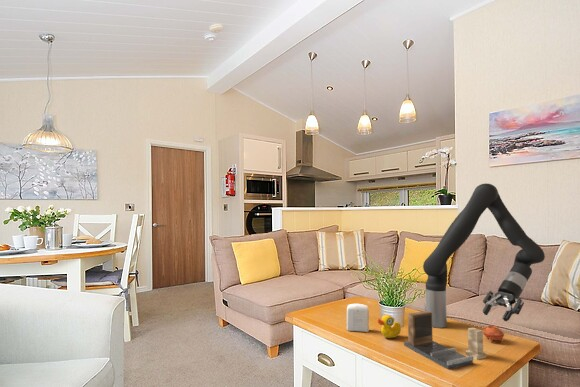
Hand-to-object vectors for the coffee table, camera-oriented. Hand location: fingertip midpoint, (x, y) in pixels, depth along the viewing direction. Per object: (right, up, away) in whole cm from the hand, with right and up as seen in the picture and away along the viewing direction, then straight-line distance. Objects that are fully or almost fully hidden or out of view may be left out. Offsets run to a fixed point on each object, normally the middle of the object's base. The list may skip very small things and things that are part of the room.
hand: (494, 316), depth 138 cm
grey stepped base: (-24, -14, -3) cm, 28 cm away
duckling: (-38, -15, +14) cm, 43 cm away
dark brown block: (-28, -12, +5) cm, 31 cm away
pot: (+6, -14, +10) cm, 19 cm away
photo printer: (-50, -15, +23) cm, 57 cm away
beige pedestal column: (-10, -14, -5) cm, 17 cm away
